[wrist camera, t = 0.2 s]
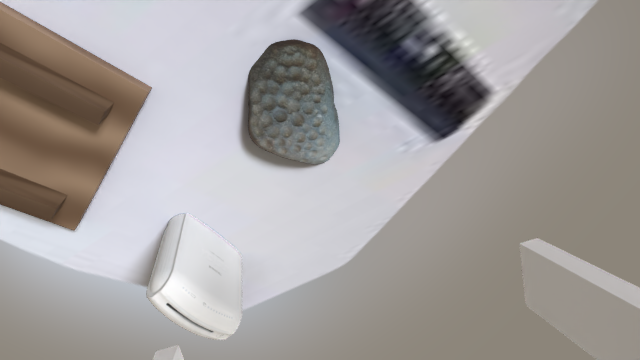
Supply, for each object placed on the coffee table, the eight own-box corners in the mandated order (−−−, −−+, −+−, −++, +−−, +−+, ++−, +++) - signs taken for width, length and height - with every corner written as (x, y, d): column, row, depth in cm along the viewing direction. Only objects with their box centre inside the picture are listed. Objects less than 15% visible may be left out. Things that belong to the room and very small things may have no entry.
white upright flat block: (247, 253, 45) (248, 336, 35) (223, 271, 46) (216, 358, 35) (186, 205, 40) (165, 285, 30) (159, 226, 41) (130, 311, 30)
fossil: (248, 158, 39) (248, 175, 36) (248, 35, 33) (248, 42, 30) (334, 159, 41) (342, 175, 38) (350, 43, 35) (361, 50, 32)
